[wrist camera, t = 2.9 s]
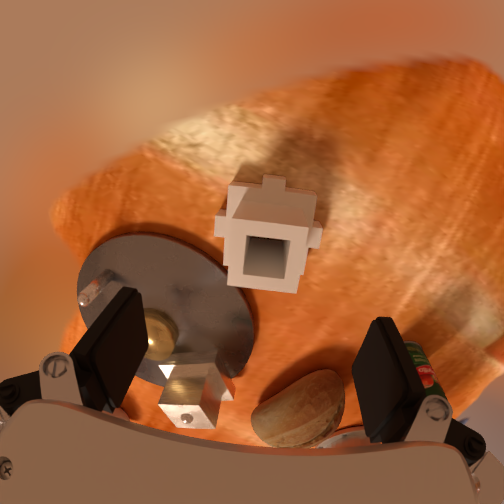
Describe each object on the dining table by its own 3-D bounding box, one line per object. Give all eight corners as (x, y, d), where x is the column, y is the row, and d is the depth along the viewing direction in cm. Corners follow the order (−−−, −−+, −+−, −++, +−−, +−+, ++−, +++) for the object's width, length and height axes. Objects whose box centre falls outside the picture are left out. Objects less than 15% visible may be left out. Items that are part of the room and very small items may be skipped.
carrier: (266, 245, 25) (260, 300, 17) (245, 394, 34) (238, 449, 26) (69, 223, 26) (15, 255, 18) (102, 362, 35) (76, 404, 27)
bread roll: (361, 375, 32) (373, 424, 24) (290, 425, 37) (290, 467, 30) (306, 348, 30) (312, 404, 23) (238, 405, 36) (231, 451, 28)
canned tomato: (359, 382, 32) (375, 450, 22) (381, 339, 29) (409, 413, 19) (407, 380, 32) (429, 441, 22) (431, 340, 29) (465, 402, 18)
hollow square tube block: (325, 182, 22) (345, 201, 16) (309, 274, 26) (317, 319, 20) (222, 169, 23) (201, 183, 16) (216, 263, 26) (198, 304, 20)
